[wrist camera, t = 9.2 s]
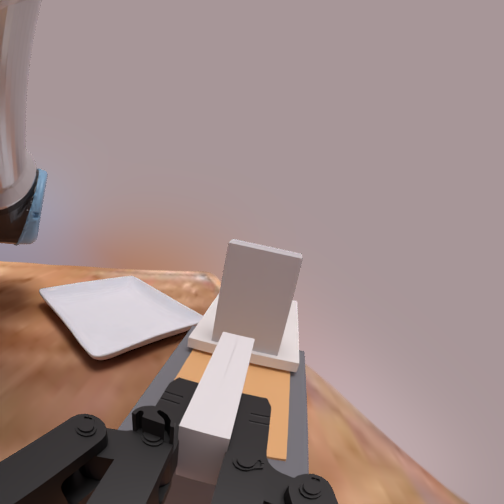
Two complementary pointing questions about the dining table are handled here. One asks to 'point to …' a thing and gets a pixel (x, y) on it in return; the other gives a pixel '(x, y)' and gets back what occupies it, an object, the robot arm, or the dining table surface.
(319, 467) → the dining table surface
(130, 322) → the salad plate
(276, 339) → the side cover
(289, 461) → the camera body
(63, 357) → the dining table surface
